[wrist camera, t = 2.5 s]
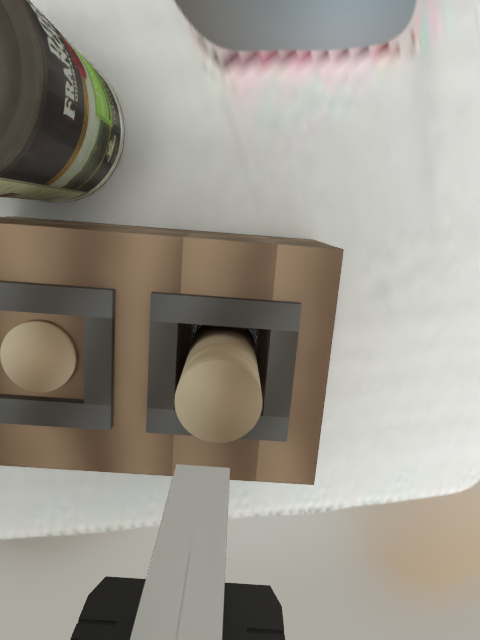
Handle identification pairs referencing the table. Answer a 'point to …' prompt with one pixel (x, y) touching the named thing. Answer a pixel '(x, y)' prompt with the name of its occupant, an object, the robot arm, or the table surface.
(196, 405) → the dowel
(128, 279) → the socket block
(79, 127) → the coffee can
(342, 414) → the table surface
